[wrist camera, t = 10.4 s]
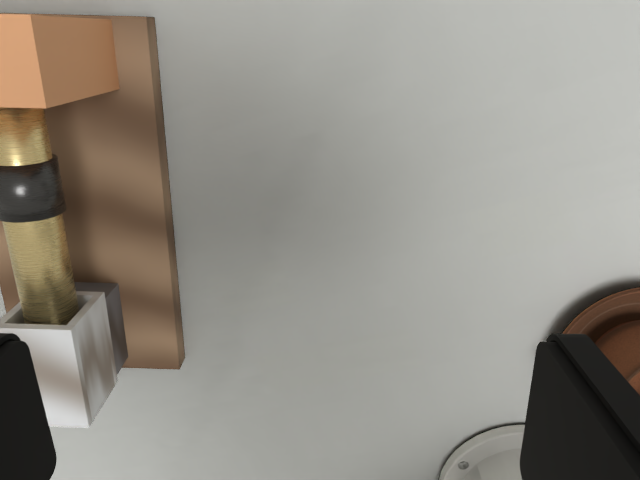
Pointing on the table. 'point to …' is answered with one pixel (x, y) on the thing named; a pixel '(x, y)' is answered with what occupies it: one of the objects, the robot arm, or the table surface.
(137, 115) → the rig
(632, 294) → the cup and saucer
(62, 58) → the socket
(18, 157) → the brass tube
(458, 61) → the table surface
